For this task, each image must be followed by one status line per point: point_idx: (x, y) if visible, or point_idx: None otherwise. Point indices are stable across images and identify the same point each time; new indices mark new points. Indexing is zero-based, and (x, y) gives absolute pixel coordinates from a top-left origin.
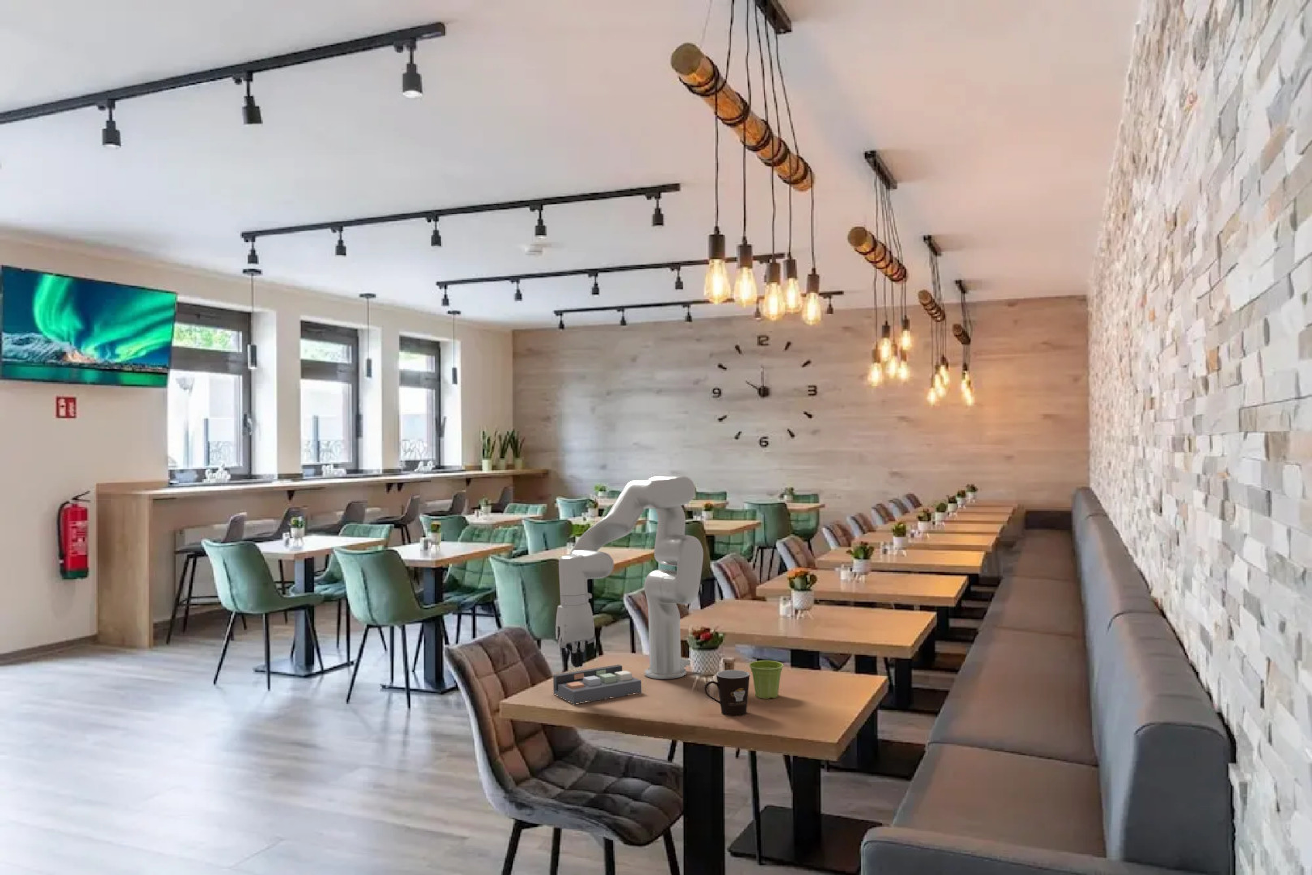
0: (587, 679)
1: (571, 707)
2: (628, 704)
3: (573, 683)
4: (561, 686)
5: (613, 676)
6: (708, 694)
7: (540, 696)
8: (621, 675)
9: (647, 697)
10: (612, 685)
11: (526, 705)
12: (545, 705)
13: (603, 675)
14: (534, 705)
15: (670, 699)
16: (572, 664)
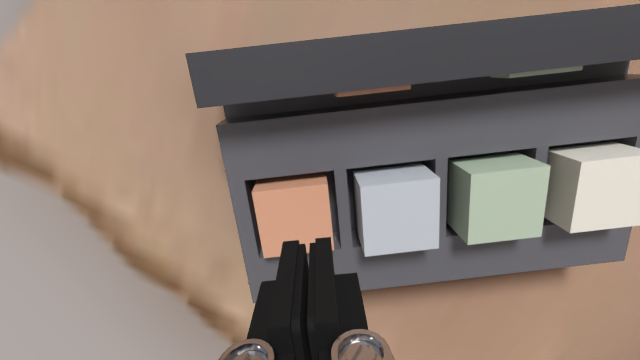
0: (364, 240)
1: (242, 291)
2: (442, 340)
3: (286, 211)
4: (226, 171)
5: (522, 237)
6: None
7: (146, 59)
8: (572, 230)
9: (550, 295)
10: (463, 277)
11: (59, 184)
12: (145, 222)
13: (486, 200)
14: (97, 201)
15: (594, 346)
16: (284, 244)
